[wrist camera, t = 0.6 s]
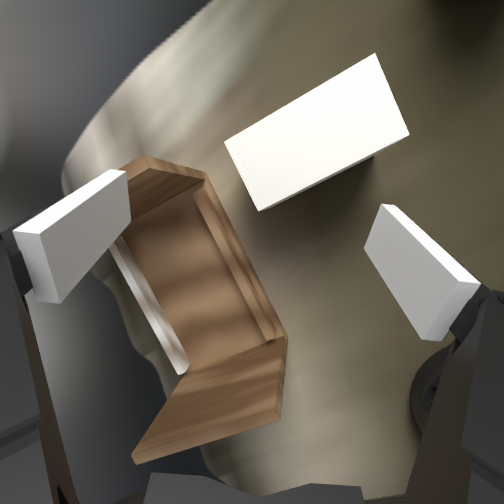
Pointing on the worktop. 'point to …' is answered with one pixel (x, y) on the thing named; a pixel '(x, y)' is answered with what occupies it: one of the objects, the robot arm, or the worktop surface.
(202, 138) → the worktop surface
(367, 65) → the product carton
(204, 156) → the worktop surface
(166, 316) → the facing shelf
